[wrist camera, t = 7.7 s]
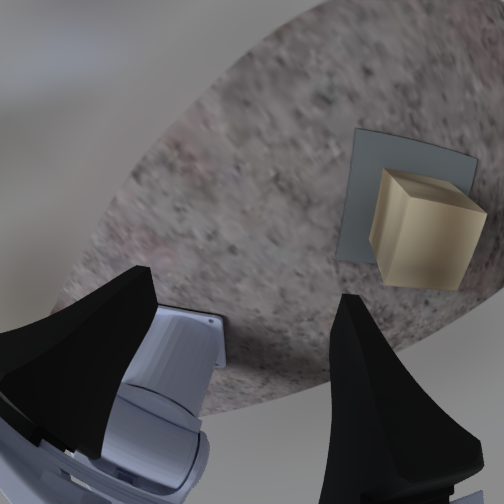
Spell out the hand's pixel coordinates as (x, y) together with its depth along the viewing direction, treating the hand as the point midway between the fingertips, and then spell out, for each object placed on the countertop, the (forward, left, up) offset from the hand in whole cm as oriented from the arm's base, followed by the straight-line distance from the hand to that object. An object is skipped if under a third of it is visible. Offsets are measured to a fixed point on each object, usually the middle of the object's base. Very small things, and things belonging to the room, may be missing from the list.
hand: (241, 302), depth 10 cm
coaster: (+9, +1, -10) cm, 14 cm away
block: (+9, +1, -9) cm, 13 cm away
